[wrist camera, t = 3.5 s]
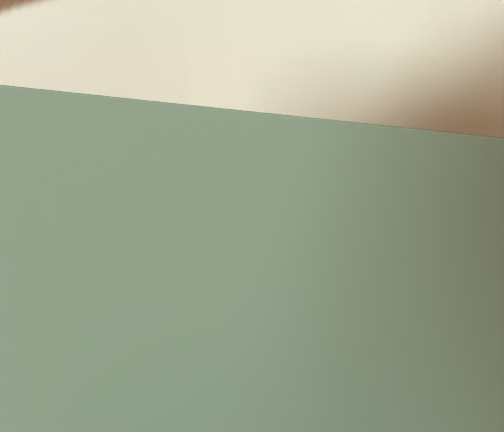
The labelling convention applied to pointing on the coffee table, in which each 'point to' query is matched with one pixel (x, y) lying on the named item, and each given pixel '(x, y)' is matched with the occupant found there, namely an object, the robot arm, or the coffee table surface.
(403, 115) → the coffee table surface
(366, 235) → the tall brick
